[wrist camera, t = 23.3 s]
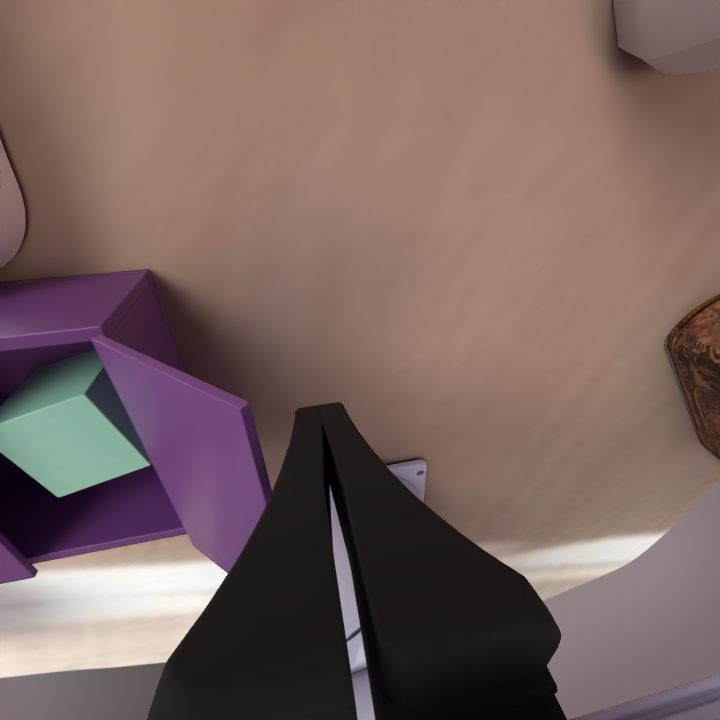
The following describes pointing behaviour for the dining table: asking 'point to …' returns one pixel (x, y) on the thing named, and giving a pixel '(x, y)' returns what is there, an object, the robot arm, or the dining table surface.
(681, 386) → the book
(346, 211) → the dining table surface
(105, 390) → the sticky note cube
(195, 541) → the purple box lid
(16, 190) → the computer
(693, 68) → the salt shaker
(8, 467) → the purple open box
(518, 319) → the dining table surface
